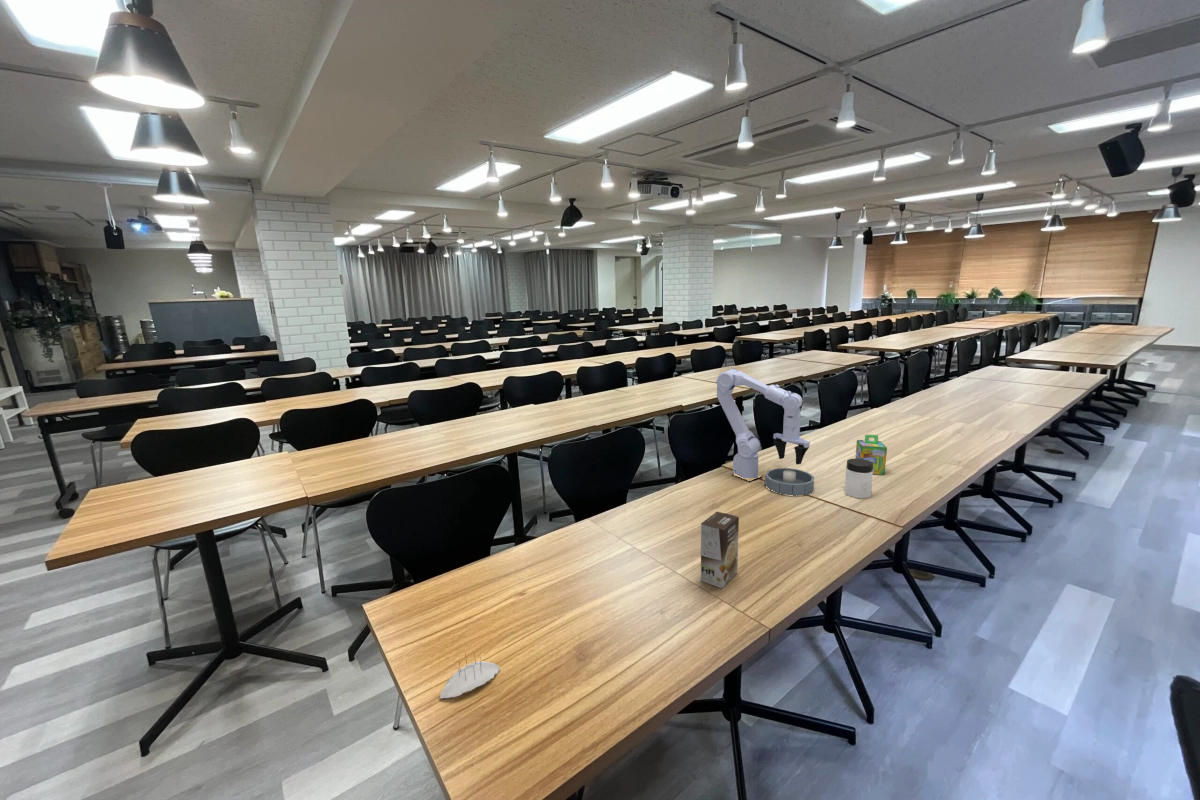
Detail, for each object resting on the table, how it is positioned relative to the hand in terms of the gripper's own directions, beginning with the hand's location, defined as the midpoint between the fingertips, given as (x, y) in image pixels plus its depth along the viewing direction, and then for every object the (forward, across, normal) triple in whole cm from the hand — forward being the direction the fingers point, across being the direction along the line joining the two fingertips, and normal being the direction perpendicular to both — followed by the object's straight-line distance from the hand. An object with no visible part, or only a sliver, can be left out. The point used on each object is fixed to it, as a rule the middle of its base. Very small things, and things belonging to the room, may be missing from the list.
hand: (790, 461), depth 177 cm
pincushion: (+10, +30, -130) cm, 133 cm away
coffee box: (+10, +30, -65) cm, 72 cm away
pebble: (+8, +2, -2) cm, 9 cm away
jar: (+10, +20, +12) cm, 25 cm away
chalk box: (+10, +9, +37) cm, 39 cm away
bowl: (+9, +2, -2) cm, 10 cm away
